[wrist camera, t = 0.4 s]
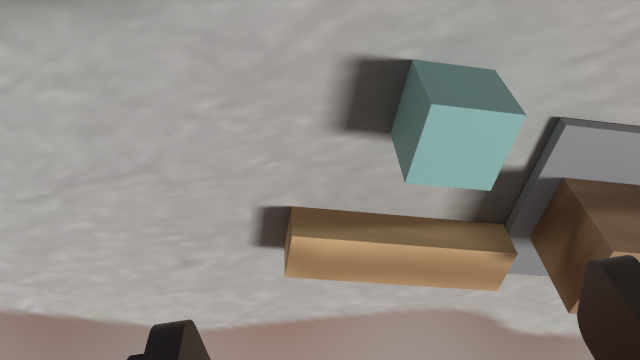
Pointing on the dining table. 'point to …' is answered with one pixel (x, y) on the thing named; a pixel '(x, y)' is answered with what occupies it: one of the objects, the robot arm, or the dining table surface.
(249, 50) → the dining table surface
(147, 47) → the dining table surface
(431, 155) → the cube
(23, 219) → the dining table surface
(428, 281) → the plank
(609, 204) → the pillar
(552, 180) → the board
